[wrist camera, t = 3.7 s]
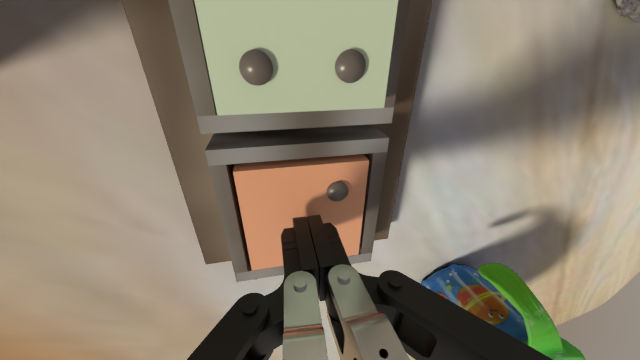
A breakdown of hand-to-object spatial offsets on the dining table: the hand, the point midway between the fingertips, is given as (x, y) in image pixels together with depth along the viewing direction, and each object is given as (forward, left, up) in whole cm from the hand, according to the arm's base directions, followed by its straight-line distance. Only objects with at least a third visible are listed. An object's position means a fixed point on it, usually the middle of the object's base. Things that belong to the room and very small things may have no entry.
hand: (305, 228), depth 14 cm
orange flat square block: (0, 0, -3) cm, 3 cm away
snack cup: (+16, -15, -5) cm, 23 cm away
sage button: (0, +10, -2) cm, 10 cm away
